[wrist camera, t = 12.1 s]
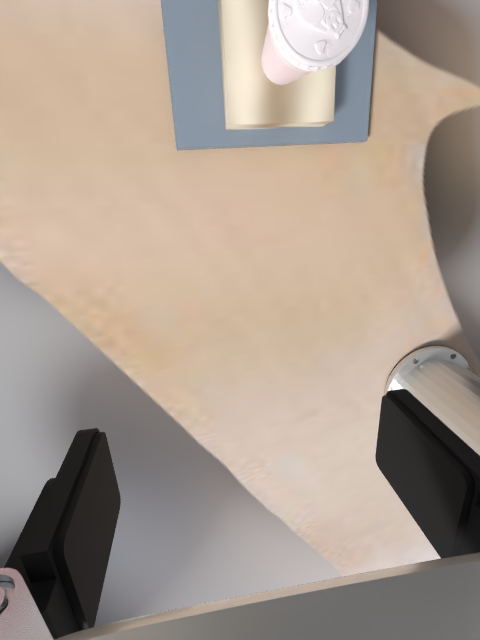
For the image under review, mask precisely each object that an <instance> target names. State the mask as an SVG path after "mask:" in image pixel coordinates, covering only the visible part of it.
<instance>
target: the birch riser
mask: <svg viewBox="0 0 480 640" xmlns="http://www.w3.org/2000/svg"><path fill="white" fill-rule="evenodd" d="M268 6H269V0H218V12H219V28H220V45H221V62H222V78H223V95H224V112H225V128H226V130H243V129H270V128H296V127H322V126H324V125H326V124H329V123H331V122H333V121H334V102H335V76H336V66H334V67H332V68H330V69H328V70H324V71H319V72H311V73H309V74H307V75H305V76H303V77H301V78H299V79H297V80H295V81H293V82H291V83H288V84H285V85H278V84H275V83H273V82H272V81H270V80H269V79H268V78H267V76H266V75H265V73H264V71H263V68H262V62H261V58H262V51H263V47H264V42H265V37H266V33H267V28H268V23H269V18H268Z"/></svg>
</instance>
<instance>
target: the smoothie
mask: <svg viewBox="0 0 480 640" xmlns="http://www.w3.org/2000/svg"><path fill="white" fill-rule="evenodd" d="M368 10H369V0H269V6H268V18H269V23H268V28H267V33H266V37H265V42H264V47H263V51H262V58H261V62H262V68H263V71H264V73H265V75H266V76H267V78H268V79H269V80H270V81H272V82H273V83H275V84H278V85H285V84H288V83H291V82H293V81H295V80H297V79H299V78H301V77H303V76H305V75H307V74H309V73H311V72H319V71H324V70H328V69H330V68H332V67H334V66H336V65H337V64H339V63H340V62H341V61H342V60H343V59H344V58H345V57H346V56H347V55H348V54H349V53H350V52H351V51H352V49H353V48H354V47H355V46H356V44H357V43H358V41H359V39H360V37H361V35H362V33H363V31H364V28H365V25H366V21H367V17H368Z"/></svg>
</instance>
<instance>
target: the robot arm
mask: <svg viewBox="0 0 480 640" xmlns="http://www.w3.org/2000/svg"><path fill="white" fill-rule="evenodd" d="M376 462H377V465H378V467H379V469H380V470H381V472H382V473H383V475H384V476H385V478H386V479H387V480H388V482H389V483H390V485H391V486H392V488H393V489H394V491H395V492H396V494H397V495H398V496H399V498H400V499H401V501H402V502H403V504H404V505H405V507H406V508H407V510H408V511H409V512H410V514H411V515H412V517H413V518H414V520H415V521H416V523H417V524H418V525H419V527H420V528H421V530H422V531H423V533H424V534H425V536H426V537H427V539H428V540H429V541H430V543H431V544H432V546H433V547H434V549H435V550H436V552H437V553H438V555H439V556H440V557H441V559H437V560H431V561H426V562H420V563H415V564H409V565H404V566H399V567H393V568H388V569H382V570H377V571H371V572H366V573H360V574H355V575H350V576H344V577H339V578H334V579H329V580H323V581H318V582H313V583H308V584H303V585H297V586H292V587H286V588H281V589H276V590H271V591H265V592H260V593H255V594H250V595H245V596H240V597H235V598H230V599H225V600H219V601H214V602H210V603H204V604H199V605H194V606H189V607H184V608H179V609H174V610H168V611H164V612H159V613H154V614H150V615H145V616H141V617H136V618H132V619H127V620H122V621H117V622H113V623H108V624H105V625H101V626H97V627H94V624H95V620H96V615H97V610H98V606H99V601H100V597H101V592H102V588H103V583H104V578H105V574H106V569H107V565H108V560H109V556H110V551H111V546H112V542H113V537H114V533H115V528H116V523H117V519H118V514H119V510H120V493H119V489H118V484H117V480H116V476H115V471H114V467H113V463H112V459H111V454H110V450H109V446H108V442H107V438H106V434H105V433H104V432H99V430H98V429H97V428H95V429H87V430H80V431H78V432H77V433H76V435H75V438H74V440H73V442H72V444H71V446H70V448H69V450H68V452H67V455H66V457H65V459H64V461H63V463H62V465H61V468H60V470H59V472H58V474H57V476H56V478H52V479H49V480H48V481H47V482H46V484H45V486H44V488H43V490H42V492H41V494H40V496H39V498H38V500H37V502H36V504H35V506H34V508H33V510H32V512H31V514H30V516H29V518H28V520H27V522H26V524H25V527H24V529H23V531H22V532H21V534H20V537H19V539H18V541H17V543H16V545H15V547H14V549H13V551H12V553H11V555H10V557H9V559H8V561H7V563H6V565H5V567H4V568H0V640H480V377H479V376H478V375H476V374H474V373H473V372H471V371H470V367H469V365H468V362H467V361H466V359H465V358H464V357H463V356H462V355H461V354H460V353H458V352H457V351H455V350H453V349H451V348H448V347H445V346H429V347H425V348H422V349H419V350H417V351H415V352H413V353H411V354H410V355H408V356H407V357H405V358H404V359H403V360H402V361H401V362H400V363H398V365H397V366H396V367H395V368H394V370H393V371H392V373H391V375H390V376H389V378H388V381H387V384H386V388H385V395H384V396H383V397H382V403H381V412H380V421H379V430H378V439H377V448H376Z"/></svg>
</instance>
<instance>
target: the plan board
mask: <svg viewBox="0 0 480 640" xmlns="http://www.w3.org/2000/svg"><path fill="white" fill-rule="evenodd" d="M161 7H162V16H163V26H164V35H165V44H166V54H167V63H168V72H169V82H170V91H171V101H172V110H173V119H174V129H175V138H176V147H177V150H193V149H216V148H239V147H262V146H285V145H309V144H332V143H355V142H365V141H367V138H368V124H369V109H370V95H371V81H372V67H373V53H374V39H375V25H376V11H377V0H369V10H368V17H367V21H366V25H365V28H364V31H363V33H362V35H361V37H360V39H359V41H358V43H357V44H356V46H355V47H354V48H353V49H352V51H351V52H350V53H349V54H348V55H347V56H346V57H345V58H344V59H343V60H342V61H341V62H340V63H339V64H337V65H336V76H335V102H334V121H333V122H331V123H329V124H326V125H324V126H322V127H296V128H270V129H243V130H226V128H225V112H224V95H223V78H222V62H221V45H220V28H219V12H218V0H161Z"/></svg>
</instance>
